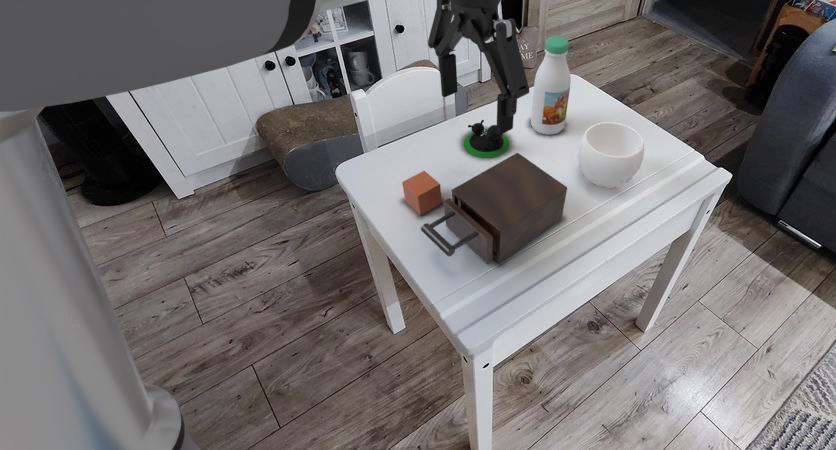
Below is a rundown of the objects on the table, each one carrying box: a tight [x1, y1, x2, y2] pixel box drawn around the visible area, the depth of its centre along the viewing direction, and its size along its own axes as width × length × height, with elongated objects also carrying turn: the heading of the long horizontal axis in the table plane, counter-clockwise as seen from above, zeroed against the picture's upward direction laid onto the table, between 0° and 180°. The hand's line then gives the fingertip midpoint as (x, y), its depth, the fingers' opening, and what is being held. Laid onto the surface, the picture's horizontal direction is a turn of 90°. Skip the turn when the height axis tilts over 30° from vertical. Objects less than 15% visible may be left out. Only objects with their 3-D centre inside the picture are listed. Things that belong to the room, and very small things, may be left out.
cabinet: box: [451, 152, 568, 264], centre depth 81 cm, size 16×13×8 cm
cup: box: [577, 121, 645, 189], centre depth 89 cm, size 12×12×10 cm
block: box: [401, 170, 443, 216], centre depth 85 cm, size 5×5×5 cm
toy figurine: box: [463, 119, 510, 159], centre depth 97 cm, size 10×10×6 cm
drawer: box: [420, 198, 497, 265], centre depth 79 cm, size 21×11×6 cm, turn 132°
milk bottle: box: [530, 35, 572, 135], centre depth 97 cm, size 8×8×20 cm
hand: (476, 111), depth 73 cm, fingers open, 13 cm apart
